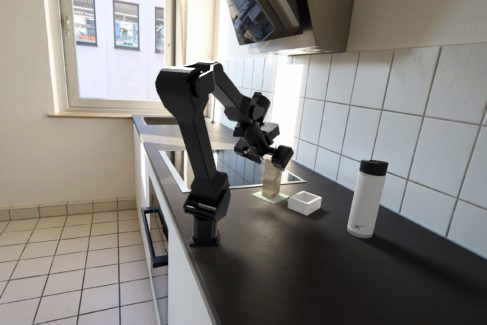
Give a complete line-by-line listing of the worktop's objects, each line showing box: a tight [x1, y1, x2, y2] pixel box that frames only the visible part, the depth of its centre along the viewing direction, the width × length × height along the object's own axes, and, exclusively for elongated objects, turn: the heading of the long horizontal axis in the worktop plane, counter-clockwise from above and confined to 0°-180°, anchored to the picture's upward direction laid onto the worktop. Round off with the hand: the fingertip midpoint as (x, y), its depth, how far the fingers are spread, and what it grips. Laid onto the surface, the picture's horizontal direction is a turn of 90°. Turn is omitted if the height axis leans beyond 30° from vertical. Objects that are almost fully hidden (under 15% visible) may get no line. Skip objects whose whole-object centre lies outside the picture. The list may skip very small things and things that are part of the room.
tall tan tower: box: [261, 156, 283, 199], centre depth 92 cm, size 5×4×12 cm
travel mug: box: [346, 159, 390, 239], centre depth 72 cm, size 6×7×20 cm
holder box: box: [287, 190, 323, 216], centre depth 87 cm, size 8×7×4 cm
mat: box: [250, 190, 291, 205], centre depth 94 cm, size 9×9×1 cm
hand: (271, 166), depth 90 cm, fingers open, 9 cm apart
